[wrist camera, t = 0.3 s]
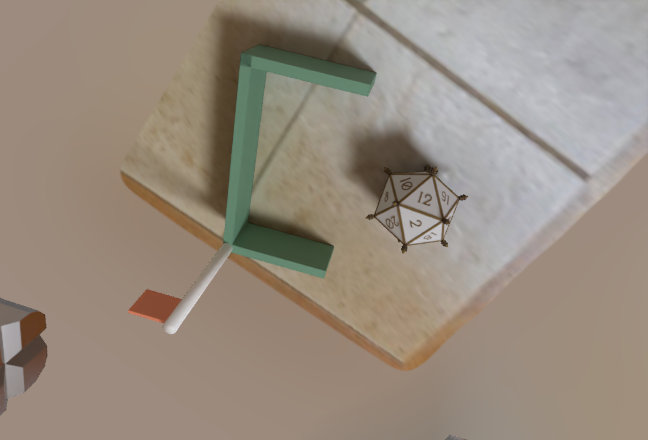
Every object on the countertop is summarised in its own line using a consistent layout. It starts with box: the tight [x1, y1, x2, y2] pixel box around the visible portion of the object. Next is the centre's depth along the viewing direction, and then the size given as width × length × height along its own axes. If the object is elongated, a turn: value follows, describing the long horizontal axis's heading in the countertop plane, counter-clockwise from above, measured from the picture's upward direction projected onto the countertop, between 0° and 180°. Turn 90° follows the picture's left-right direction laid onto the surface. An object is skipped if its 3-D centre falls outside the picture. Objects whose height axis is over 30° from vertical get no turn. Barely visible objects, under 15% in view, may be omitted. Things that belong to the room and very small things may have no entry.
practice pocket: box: [128, 45, 376, 334], centre depth 41 cm, size 21×15×18 cm
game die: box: [366, 165, 468, 253], centre depth 44 cm, size 9×8×10 cm
